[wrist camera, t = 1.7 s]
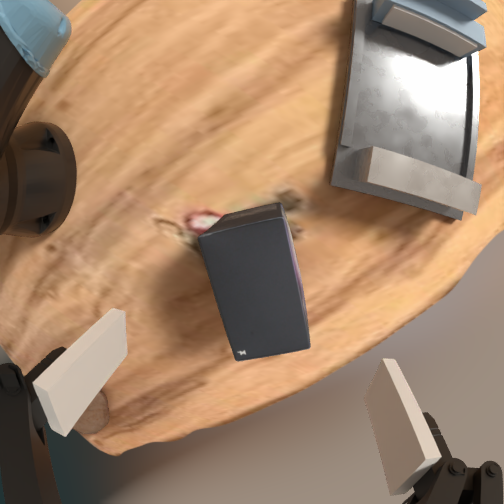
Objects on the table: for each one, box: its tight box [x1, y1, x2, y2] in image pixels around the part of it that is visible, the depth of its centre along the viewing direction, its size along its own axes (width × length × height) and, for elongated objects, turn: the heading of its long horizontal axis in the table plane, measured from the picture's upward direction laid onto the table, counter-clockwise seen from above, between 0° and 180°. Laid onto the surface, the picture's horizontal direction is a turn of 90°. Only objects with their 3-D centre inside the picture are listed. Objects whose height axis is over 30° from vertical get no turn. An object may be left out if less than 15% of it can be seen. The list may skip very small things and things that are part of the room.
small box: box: [198, 202, 311, 361], centre depth 25 cm, size 11×6×10 cm, turn 14°
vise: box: [329, 0, 482, 220], centre depth 21 cm, size 16×25×6 cm, turn 171°
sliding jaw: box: [372, 0, 487, 59], centre depth 17 cm, size 12×5×8 cm, turn 81°
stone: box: [72, 391, 109, 434], centre depth 36 cm, size 12×9×10 cm
